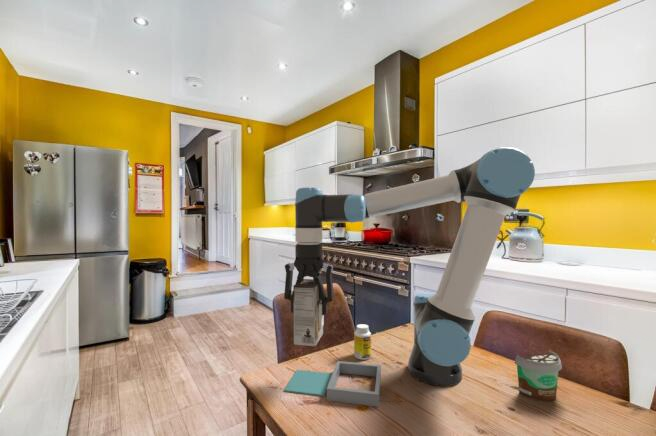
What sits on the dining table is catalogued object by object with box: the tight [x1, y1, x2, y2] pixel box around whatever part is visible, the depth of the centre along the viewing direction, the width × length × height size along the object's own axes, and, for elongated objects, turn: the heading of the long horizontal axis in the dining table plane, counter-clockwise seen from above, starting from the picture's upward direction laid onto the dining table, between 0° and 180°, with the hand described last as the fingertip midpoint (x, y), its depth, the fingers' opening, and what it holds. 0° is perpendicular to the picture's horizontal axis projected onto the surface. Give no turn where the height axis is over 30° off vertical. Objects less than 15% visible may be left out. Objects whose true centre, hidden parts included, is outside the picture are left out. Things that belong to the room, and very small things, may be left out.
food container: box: [514, 349, 563, 402], centre depth 78 cm, size 12×6×10 cm, turn 105°
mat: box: [283, 369, 333, 397], centre depth 85 cm, size 11×11×1 cm
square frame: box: [326, 360, 382, 408], centre depth 83 cm, size 13×15×3 cm
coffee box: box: [292, 278, 324, 347], centre depth 85 cm, size 9×6×16 cm
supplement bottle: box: [353, 323, 372, 361], centre depth 101 cm, size 6×6×10 cm
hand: (309, 325), depth 85 cm, fingers closed on coffee box, 6 cm apart
